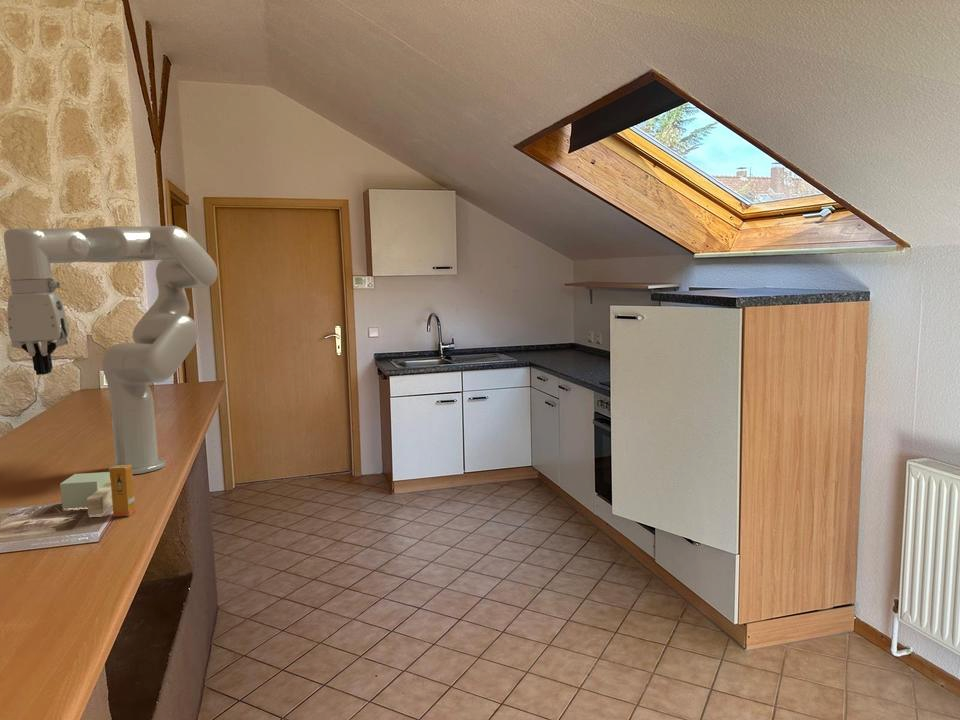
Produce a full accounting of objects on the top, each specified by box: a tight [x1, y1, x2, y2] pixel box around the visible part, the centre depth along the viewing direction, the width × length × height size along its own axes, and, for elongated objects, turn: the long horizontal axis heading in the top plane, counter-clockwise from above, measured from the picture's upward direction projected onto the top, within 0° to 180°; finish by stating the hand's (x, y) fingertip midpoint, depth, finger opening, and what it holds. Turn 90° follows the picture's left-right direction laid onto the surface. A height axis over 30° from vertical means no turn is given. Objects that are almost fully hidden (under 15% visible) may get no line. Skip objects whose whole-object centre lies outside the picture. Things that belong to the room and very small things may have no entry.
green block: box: [59, 471, 111, 508], centre depth 142 cm, size 7×7×6 cm
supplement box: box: [110, 465, 137, 518], centre depth 136 cm, size 3×3×10 cm
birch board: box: [87, 479, 112, 515], centre depth 143 cm, size 18×2×4 cm, turn 9°
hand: (43, 373), depth 145 cm, fingers closed
